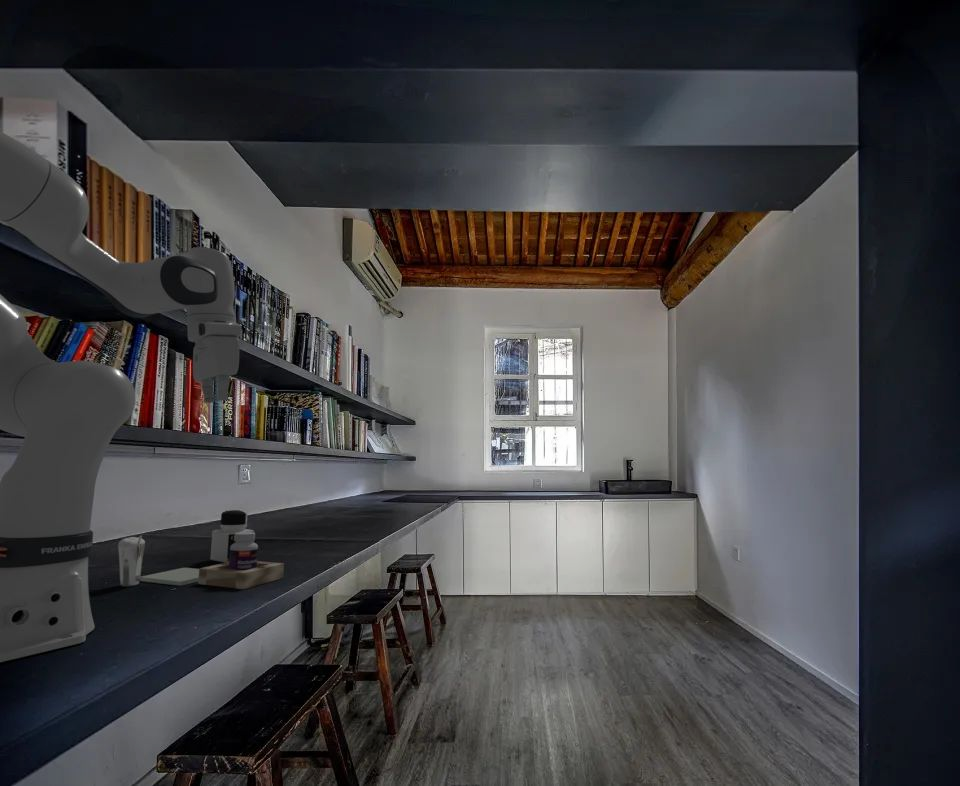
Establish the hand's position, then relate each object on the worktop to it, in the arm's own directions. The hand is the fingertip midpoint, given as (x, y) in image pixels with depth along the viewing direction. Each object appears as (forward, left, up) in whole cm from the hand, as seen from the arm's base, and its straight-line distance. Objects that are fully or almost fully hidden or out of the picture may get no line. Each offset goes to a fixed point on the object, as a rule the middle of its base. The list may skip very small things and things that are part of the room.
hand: (215, 401), depth 112 cm
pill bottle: (+10, 0, -37) cm, 38 cm away
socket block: (+10, 0, -36) cm, 38 cm away
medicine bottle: (+28, +20, -37) cm, 50 cm away
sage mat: (+7, +13, -36) cm, 39 cm away
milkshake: (-2, +17, -36) cm, 40 cm away
